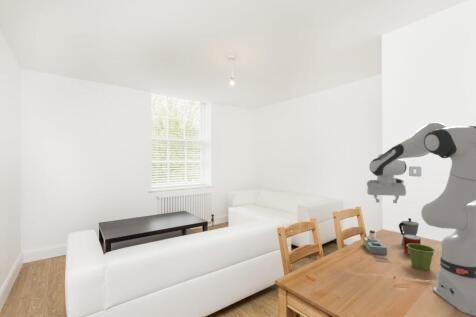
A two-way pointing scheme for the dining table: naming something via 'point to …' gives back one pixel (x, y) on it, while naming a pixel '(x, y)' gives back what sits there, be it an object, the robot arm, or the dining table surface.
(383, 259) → the deck
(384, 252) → the socket box
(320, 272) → the dining table surface
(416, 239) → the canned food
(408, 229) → the coffeepot
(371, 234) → the plug
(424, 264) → the plant pot
